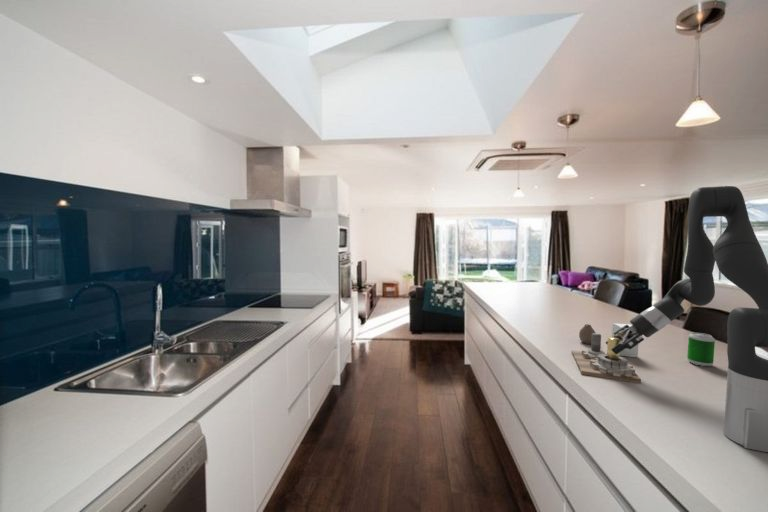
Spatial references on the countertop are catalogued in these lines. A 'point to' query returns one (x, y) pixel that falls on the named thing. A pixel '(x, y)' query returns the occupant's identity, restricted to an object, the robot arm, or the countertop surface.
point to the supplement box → (625, 352)
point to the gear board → (596, 372)
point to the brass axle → (611, 343)
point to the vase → (586, 334)
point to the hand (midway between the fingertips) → (610, 348)
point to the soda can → (701, 349)
